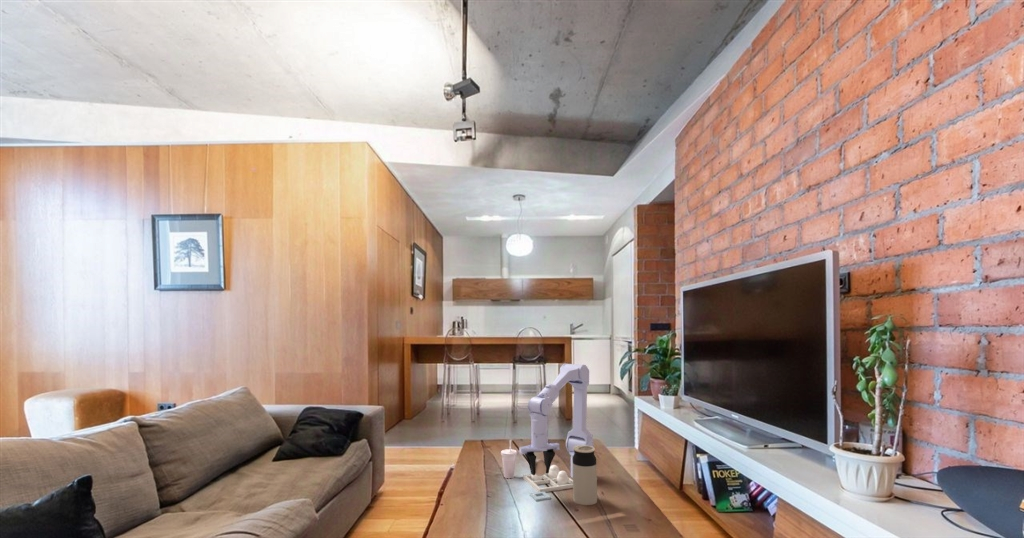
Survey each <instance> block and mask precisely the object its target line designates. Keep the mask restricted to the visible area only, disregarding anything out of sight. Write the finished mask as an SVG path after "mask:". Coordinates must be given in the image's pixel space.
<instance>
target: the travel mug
mask: <svg viewBox="0 0 1024 538" xmlns="http://www.w3.org/2000/svg"><path fill="white" fill-rule="evenodd" d="M573 450H574V455H573V478H572V480H573V488H572V498H573V499H572V500H573V502H574V503H575V504H578V505H581V506H592V505H595V504H597V503H598V481H597V479H598V477H597V476H598V475H597V472H598V471H597V470H598V469H597V457H596V455H595V451H596V448H595V446H594V447H592V446H588V445H578V446H575V447H573Z"/></svg>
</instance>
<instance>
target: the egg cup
mask: <svg viewBox="0 0 1024 538" xmlns="http://www.w3.org/2000/svg"><path fill="white" fill-rule="evenodd" d="M529 496H530V497H531V499H533V500H534V501H535V502H539V501H547V500H551V499H552V496H550V495H549V494H548V492H544V491H542V492H538V491H536V492H531V493H529ZM539 496H540V497H539Z"/></svg>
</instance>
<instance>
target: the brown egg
mask: <svg viewBox="0 0 1024 538" xmlns="http://www.w3.org/2000/svg"><path fill="white" fill-rule="evenodd" d="M546 469H547V468H546V465H545V463H544V459H541V458H538V459H536V462H535V474H536V475H537V476H543V475H544V474H545V473H546Z"/></svg>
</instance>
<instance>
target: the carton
mask: <svg viewBox="0 0 1024 538" xmlns="http://www.w3.org/2000/svg"><path fill="white" fill-rule="evenodd" d="M522 479H523V480H524V481H525V482H526V483H528V485H529V486H531V487H532V488H533V489H535V490H536V492H542V491H544V492H545V493H549V492H555V491H562V490H568V489H573V478H572V477H569V483H568V484H566V485H558V483H557V480H556V478H554V479H550V477H549V475H548V473H545V474H544V475H543V479H542V480H540V481H533V480H532V478H531V473H530V474H525V475H524V474H523V476H522ZM544 484H546V485H547V484H550V485H551V486H547V487H540V486H539V485H544Z"/></svg>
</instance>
